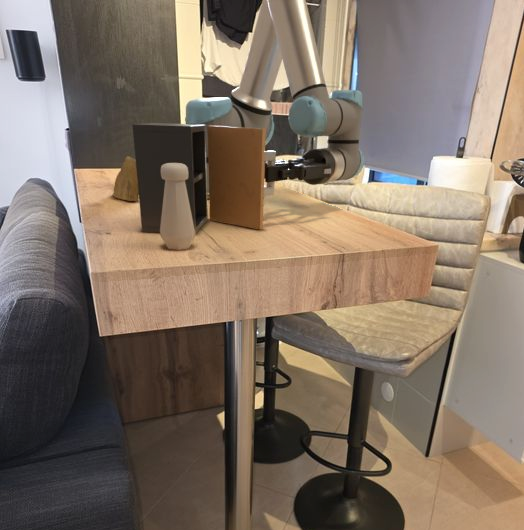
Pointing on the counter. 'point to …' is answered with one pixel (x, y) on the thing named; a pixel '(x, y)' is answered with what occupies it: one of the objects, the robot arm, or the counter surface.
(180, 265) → the counter surface
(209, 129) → the door
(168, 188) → the salt shaker
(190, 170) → the dark grey cabinet
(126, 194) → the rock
